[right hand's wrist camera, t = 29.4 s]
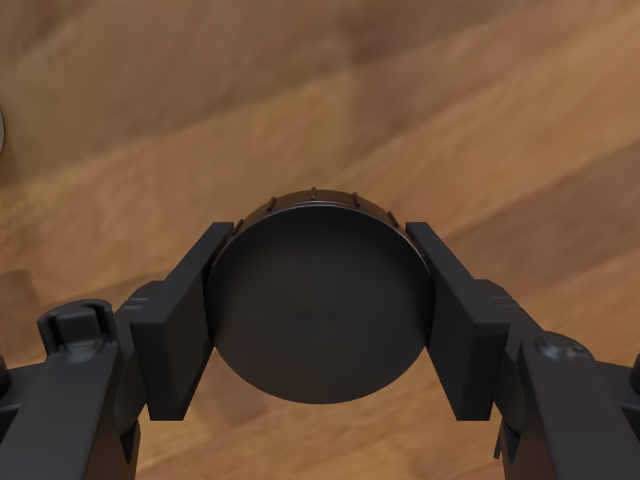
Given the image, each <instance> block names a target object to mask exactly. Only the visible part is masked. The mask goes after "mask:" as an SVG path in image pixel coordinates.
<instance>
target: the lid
mask: <svg viewBox="0 0 640 480" xmlns="http://www.w3.org/2000/svg"><path fill="white" fill-rule="evenodd" d="M231 235H232V236H231V237H230V239H229V240H228V242H227V243H226V245H225V247H224V248H223V250H221V251H220V253H219V254H218V256H217V257H216V259H215V261H214V262H213V264H212V265H211V269H212V270H211V272H210V275H209V277H208V281H207V285H206V290H205V301H204V306H205V314H206V321H207V327H208V331H209V334H210V336H211V339H212V341H213V344H214V345H215V347H216V349H217V350H218V352H219V354H220V355H221V357H222V358H223V359H224V361H225V362H226V363H227V364H228V366H229V367H230V368H231V369H232V370H233V371H234V372H235V373H236V374H238V375H239V376H240V377H241V378H243V379H244V380H245V381H246V382H248V383H249V384H251V385H253V386H254V387H256V388H258V389H259V390H261V391H264V392H266V393H268V394H270V395H273V396H276V397H278V398H281V399H285V400H289V401H293V402H298V403H306V404H333V403H341V402H346V401H351V400H355V399H358V398H362V397H364V396H367V395H369V394H372V393H374V392H376V391H378V390H380V389H382V388H384V387H386V386H387V385H389V384H390V383H392V382H393V381H395V380H396V379H397V378H399V377H400V376H401V375H402V374H403V373H404V372H405V371H406V370H408V368H409V367H410V366H411V365H412V364H413V363H414V362H415V360H416V359H417V358H418V356H419V355H420V353H421V352H422V350H423V349H424V346H425V344H426V342H427V340H428V338H429V336H430V333H431V329H432V326H433V319H434V312H435V293H434V286H433V282H432V279H431V276H430V272H429V270H428V268H427V266H426V264H425V262H424V260H423V258H425V257H424V255H423V253H422V252H421V250H420V249H419V247H418V246H417V244H416V242H415V241H414V240H413V241H411V239H410V238H409V236H408V235H407V233H406V232H405V230H404V229H403V228H402V227H401V225H400V224H399V223H398V222H397V220H396V219H395V217H394V215H393V214H392V213H391V212H390V211H389V212H388V213H387V212H386V211H385V210H383V209H382V208H380V207H378V206H377V205H375V204H374V203H372V202H370V201H368V200H365V199H363V198H361V197H359V196H358V195H357V193H355V192H353V195H352V194H349V193H345V192H339V191H333V190H315V187H312V189H311V190H307V191H300V192H295V193H291V194H287V195H284V196H282V197H279V198H275V197H272V198H271V200H270V202H268V203H266V204H264V205H262V206H261V207H260V208H258V209H257V210H255V211H254V212H253V213H251V214H250V215H249V216H248V217H247V218H246V219H245V220H244V221H243V220H242V219H241V220H240V221H239V222H238V224H237V225H236V227H235V228H234V230H233V232H232V233H231Z"/></svg>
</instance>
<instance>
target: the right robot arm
mask: <svg viewBox="0 0 640 480" xmlns="http://www.w3.org/2000/svg"><path fill="white" fill-rule="evenodd" d="M233 230H234V222H213V224H212V225H211V226H210V227H209V228H208V229H207V231H206V232H205V233H204V234H203V235H202V237H201V238H200V239H199V240H198V241H197V242H196V244H195V245H194V246H193V247H192V248H191V249H190V251H189V252H188V253H187V254H186V255H185V257H184V258H183V259H182V260H181V261H180V262H179V264H178V265H177V266H176V267H175V268H174V270H173V271H172V272H171V273H170V274H169V275H168V277H167V278H166V279H165V280H164V281H151V282H149V283H147V284H145V285H144V286H142V287H140V288H138V289H137V290H136V291H135V292H134V293H133V294H132V295H131V296H130V297H129V298H128V301H126V302H125V303H124V304H123V305H122V306H121V307H120V309H118V310H117V311H116V312H115V313H114V314H113V312H112V307H111V304H110V303H108V302H107V301H105V300H99V299H86V300H79V301H75V302H70V303H67V304H64V305H62V306H59V307H56V308H54V309H52V310H51V311H49V312H47V313H45V314H44V315H43V316H42V317H40V318H39V319H38V320H37V321H36V322H37V325H38V328H39V331H40V335H41V338H42V341H43V344H44V347H45V350H46V353H47V358H46V360H45V362H43V363H39V364H34V365H28V366H23V367H18V368H13V369H7V367H6V364H5V362H4V359H3V356H1V355H0V480H135V474H136V466H137V458H138V451H139V443H140V436H141V432H140V425H139V421H138V416H139V414H140V413H141V411H142V409H143V407H144V406H145V404H146V403H147V407H148V412H149V416H150V421H183V419H184V416H185V414H186V412H187V409H188V407H189V405H190V402H191V400H192V398H193V395H194V393H195V390H196V388H197V386H198V383H199V381H200V379H201V376H202V374H203V372H204V369H205V367H206V365H207V362H208V360H209V357H210V355H211V353H212V350H213V348H214V346H215V345H214V344H213V341H212V339H211V336H210V334H209V331H208V327H207V321H206V314H205V306H204V301H205V290H206V285H207V281H208V277H209V275H210V272H211V270H212V269H211V265H212V264H213V262H214V261H215V259H216V257H217V256H218V254H219V253H220V251H221V250H223V248H224V247H225V245H226V243H227V242H228V240H229V239H230V237H231V236H232V235H231V233H232V232H233ZM405 232H406V233H407V235H408V236H409V238H410V239H411V241H413V240H414V241H415V242H416V244H417V246H418V247H419V249H420V250H421V252H422V253H423V255H424V257H425V258H423V260H424V262H425V264H426V266H427V268H428V270H429V272H430V276H431V279H432V282H433V286H434V293H435V312H434V319H433V326H432V329H431V333H430V336H429V338H428V340H427V342H426V344H425V346H426V349H427V351H428V353H429V356H430V358H431V360H432V363H433V365H434V367H435V370H436V372H437V375H438V377H439V379H440V382H441V384H442V386H443V389H444V391H445V393H446V396H447V398H448V400H449V403H450V405H451V408H452V410H453V412H454V415H455V417H456V419H457V421H489V419H490V415H491V410H492V406H493V401H494V402H495V404H496V406H497V408H498V409H499V411H500V413H501V415H502V416H503V417H502V421H501V425H500V430H499V434H498V438H497V442H496V446H495V451H494V458H496V459H499V456H500V452H501V451H502V457H503V465H504V473H505V480H640V354H638V355H637V358H636V361H635V363H634V366H633V368H631V367H626V366H620V365H615V364H610V363H605V362H600V361H596V360H595V359H594V357H593V355H592V354H591V353H590V352H589V351H588V349H587V348H586V347H584V346H583V345H581V344H580V343H578V342H577V341H575V340H573V339H571V338H569V337H566V336H564V335H562V334H558V333H554V332H550V331H544V330H543V329H542V328H541V327H540V326H539V325H538V324H537V323H536V322H535V321H534V320H533V319H532V318H531V317H530V316H529V315H528V314H527V313H526V312H525V311H524V310H523V309H522V308H520V305H519V304H518V303H517V302H516V301H515V300H514V299H512V297H511V296H510V295H509V294H508V293H507V292H506V291H505V290H504V289H503V288H502V287H500V286H499V285H497V284H495V283H493V282H491V281H490V280H475V279H474V278H473V277H472V276H471V275H470V273H469V272H468V271H467V270H466V269H465V267H464V266H463V265H462V264H461V263H460V262H459V260H458V259H457V258H456V257H455V256H454V254H453V253H452V252H451V251H450V250H449V249H448V247H447V246H446V245H445V244H444V243H443V242H442V240H441V239H440V238H439V237H438V236H437V234H436V233H435V232H434V231H433V230H432V229H431V227H430V226H429V225H428V224H427V223H426V222H406V229H405Z"/></svg>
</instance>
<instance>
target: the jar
mask: <svg viewBox="0 0 640 480" xmlns="http://www.w3.org/2000/svg"><path fill="white" fill-rule="evenodd" d="M3 142H4V125H3V119H2V115H1V112H0V152H1V150H2V146H3Z"/></svg>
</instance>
